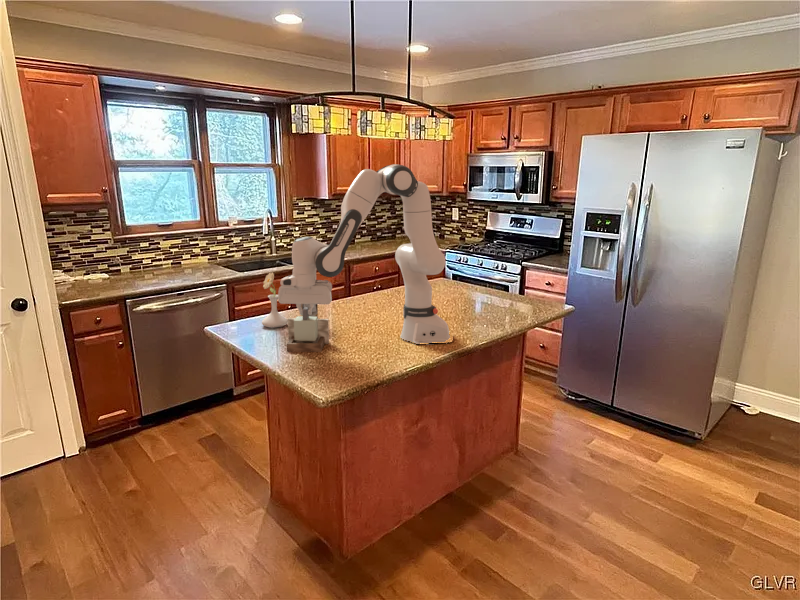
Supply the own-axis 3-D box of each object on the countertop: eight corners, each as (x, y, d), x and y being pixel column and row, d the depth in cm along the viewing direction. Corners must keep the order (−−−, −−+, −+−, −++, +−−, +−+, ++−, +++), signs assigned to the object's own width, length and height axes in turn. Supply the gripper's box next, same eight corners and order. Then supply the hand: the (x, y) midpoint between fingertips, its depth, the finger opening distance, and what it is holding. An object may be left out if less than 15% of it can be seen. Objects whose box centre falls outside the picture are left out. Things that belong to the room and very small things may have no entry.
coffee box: (318, 327, 210) (317, 292, 206) (304, 329, 208) (302, 293, 204) (314, 322, 218) (313, 288, 214) (300, 323, 216) (299, 289, 212)
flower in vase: (262, 322, 216) (259, 268, 210) (288, 321, 218) (286, 268, 212) (260, 331, 204) (257, 274, 197) (287, 330, 206) (285, 273, 200)
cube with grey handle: (317, 335, 189) (317, 306, 186) (315, 340, 183) (314, 311, 180) (297, 335, 189) (296, 306, 186) (294, 340, 183) (293, 310, 180)
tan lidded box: (328, 342, 192) (328, 318, 189) (324, 352, 181) (324, 327, 179) (289, 341, 192) (288, 318, 189) (283, 351, 181) (281, 326, 179)
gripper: (333, 278, 183) (333, 312, 187) (280, 277, 183) (281, 311, 187) (330, 282, 177) (331, 317, 181) (276, 280, 177) (277, 316, 180)
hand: (305, 314), depth 184 cm, fingers closed on cube with grey handle
